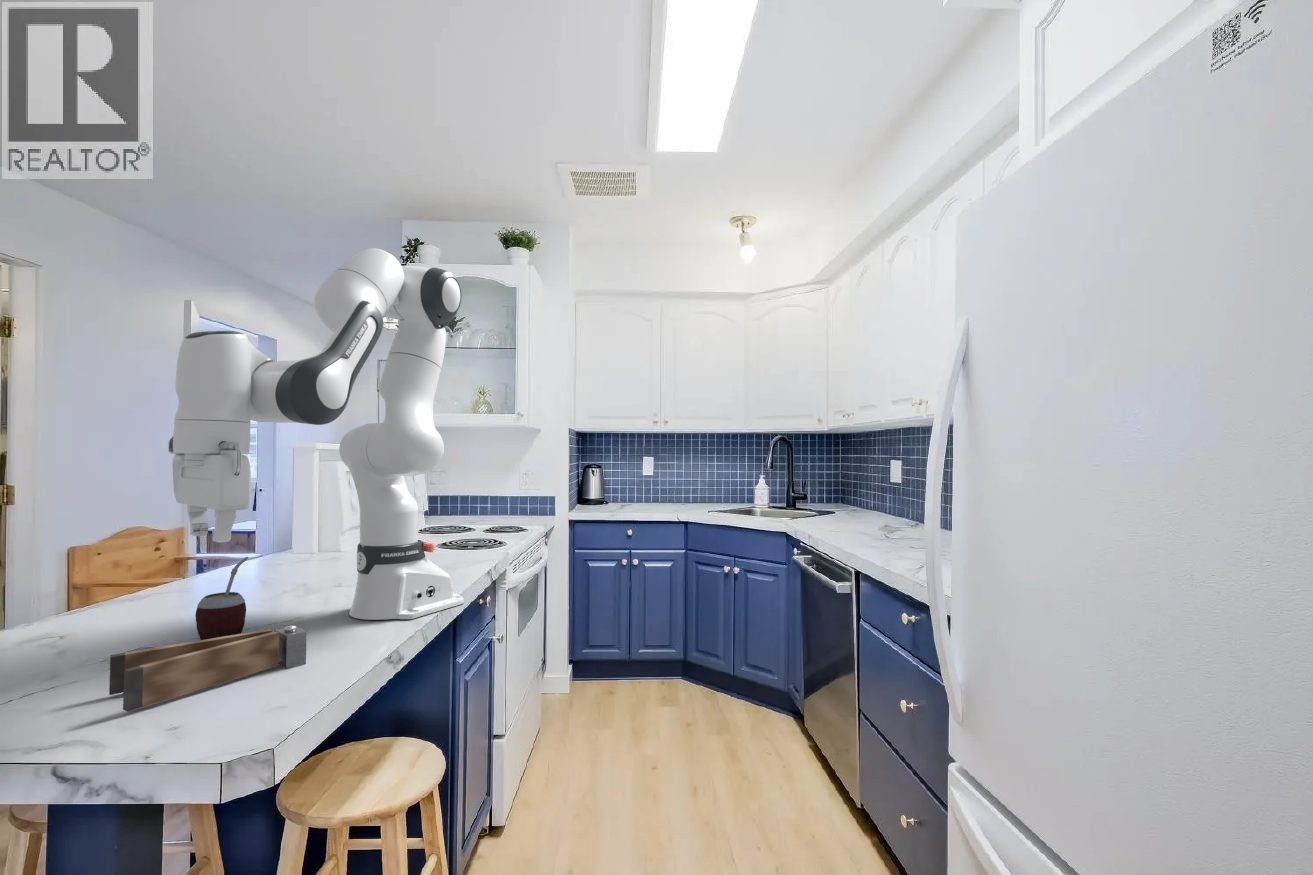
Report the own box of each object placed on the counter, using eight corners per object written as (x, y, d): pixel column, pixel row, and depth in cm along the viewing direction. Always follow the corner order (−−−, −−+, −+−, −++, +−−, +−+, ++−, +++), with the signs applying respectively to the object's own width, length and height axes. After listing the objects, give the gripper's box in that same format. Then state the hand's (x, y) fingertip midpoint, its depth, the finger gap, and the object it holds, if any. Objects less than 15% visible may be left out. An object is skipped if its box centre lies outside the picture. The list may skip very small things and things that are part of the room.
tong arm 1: (269, 661, 94) (270, 628, 94) (271, 663, 93) (272, 630, 93) (109, 692, 81) (110, 654, 82) (109, 695, 81) (110, 657, 81)
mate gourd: (201, 638, 106) (203, 552, 107) (254, 633, 110) (256, 550, 110) (188, 651, 100) (191, 559, 100) (245, 645, 103) (248, 556, 103)
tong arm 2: (273, 664, 92) (274, 631, 93) (278, 665, 92) (279, 632, 92) (122, 709, 76) (124, 669, 76) (127, 711, 76) (128, 671, 76)
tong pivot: (292, 657, 97) (293, 622, 97) (305, 663, 94) (306, 627, 94) (273, 661, 95) (274, 625, 95) (286, 668, 92) (286, 631, 92)
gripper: (266, 442, 83) (263, 543, 83) (214, 442, 95) (212, 530, 95) (211, 441, 78) (208, 548, 78) (164, 441, 90) (161, 534, 90)
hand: (209, 538), depth 86 cm, fingers open, 8 cm apart
